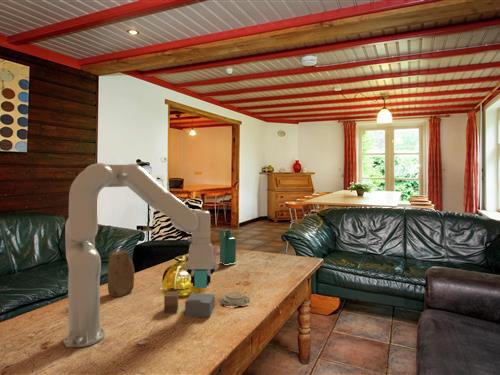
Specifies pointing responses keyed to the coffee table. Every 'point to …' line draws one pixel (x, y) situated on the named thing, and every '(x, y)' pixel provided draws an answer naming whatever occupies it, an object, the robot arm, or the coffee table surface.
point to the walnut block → (171, 302)
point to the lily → (215, 252)
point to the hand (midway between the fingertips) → (201, 284)
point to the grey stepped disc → (234, 299)
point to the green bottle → (227, 247)
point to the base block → (199, 305)
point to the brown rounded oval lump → (120, 273)
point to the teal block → (200, 279)
